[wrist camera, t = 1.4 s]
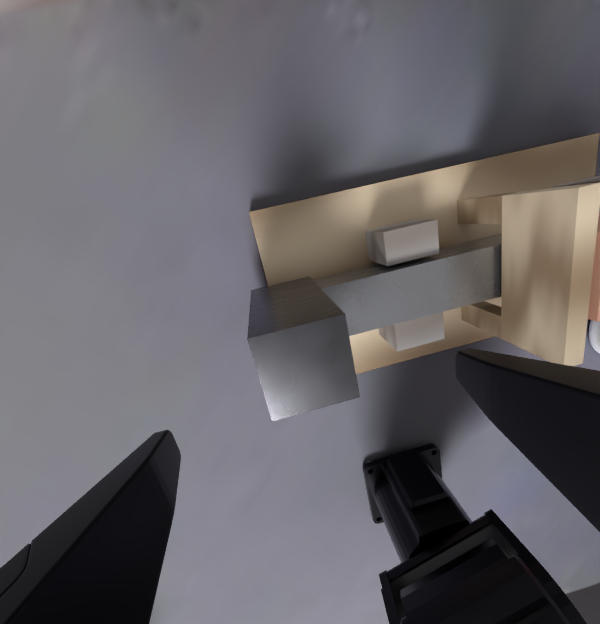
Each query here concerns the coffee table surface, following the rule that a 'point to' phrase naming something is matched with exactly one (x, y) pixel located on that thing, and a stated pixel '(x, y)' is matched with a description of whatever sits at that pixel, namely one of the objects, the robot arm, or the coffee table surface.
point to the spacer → (595, 282)
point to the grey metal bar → (355, 318)
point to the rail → (454, 230)
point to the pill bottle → (595, 335)
